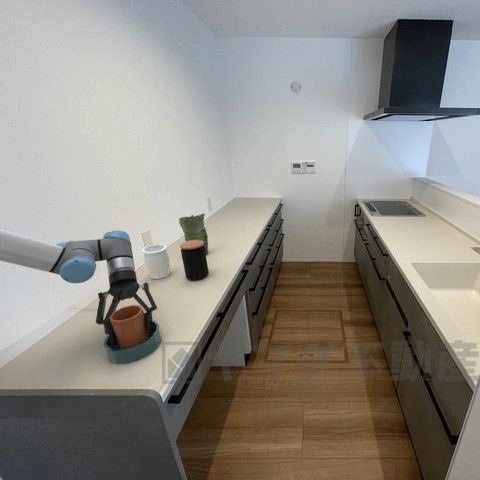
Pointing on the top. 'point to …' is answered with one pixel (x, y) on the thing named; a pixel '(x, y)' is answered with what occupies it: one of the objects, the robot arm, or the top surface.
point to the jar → (157, 261)
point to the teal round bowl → (137, 351)
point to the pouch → (194, 229)
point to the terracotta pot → (129, 326)
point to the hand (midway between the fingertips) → (131, 338)
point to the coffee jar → (194, 259)
